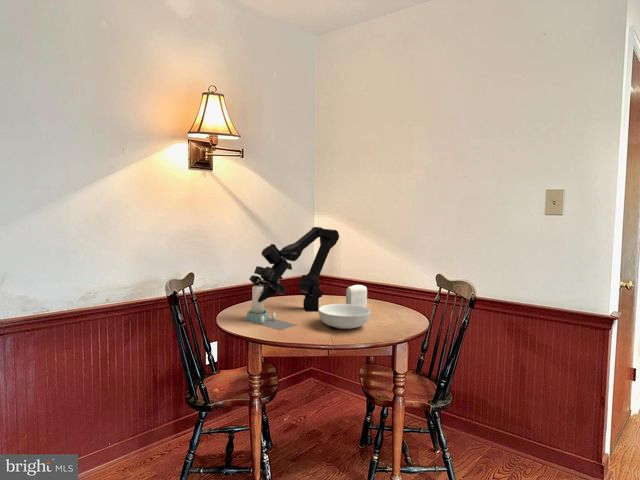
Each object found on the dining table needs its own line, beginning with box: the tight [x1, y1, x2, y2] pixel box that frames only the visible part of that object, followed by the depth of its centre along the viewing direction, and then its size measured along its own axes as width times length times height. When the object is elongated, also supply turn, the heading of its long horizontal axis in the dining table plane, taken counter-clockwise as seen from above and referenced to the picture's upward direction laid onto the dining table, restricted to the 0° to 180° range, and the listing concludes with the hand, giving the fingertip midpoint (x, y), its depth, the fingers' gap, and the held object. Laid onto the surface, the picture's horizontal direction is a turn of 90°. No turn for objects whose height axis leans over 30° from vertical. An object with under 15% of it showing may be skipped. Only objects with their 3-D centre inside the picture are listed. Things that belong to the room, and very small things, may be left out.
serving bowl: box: [317, 303, 371, 330], centre depth 177 cm, size 21×21×7 cm
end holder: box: [246, 309, 269, 323], centre depth 182 cm, size 9×9×3 cm
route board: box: [239, 312, 297, 331], centre depth 179 cm, size 23×10×4 cm, turn 52°
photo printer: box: [345, 284, 368, 308], centre depth 199 cm, size 10×4×12 cm, turn 123°
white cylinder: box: [251, 285, 264, 314], centre depth 182 cm, size 4×4×12 cm
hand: (255, 300), depth 181 cm, fingers closed on white cylinder, 4 cm apart
